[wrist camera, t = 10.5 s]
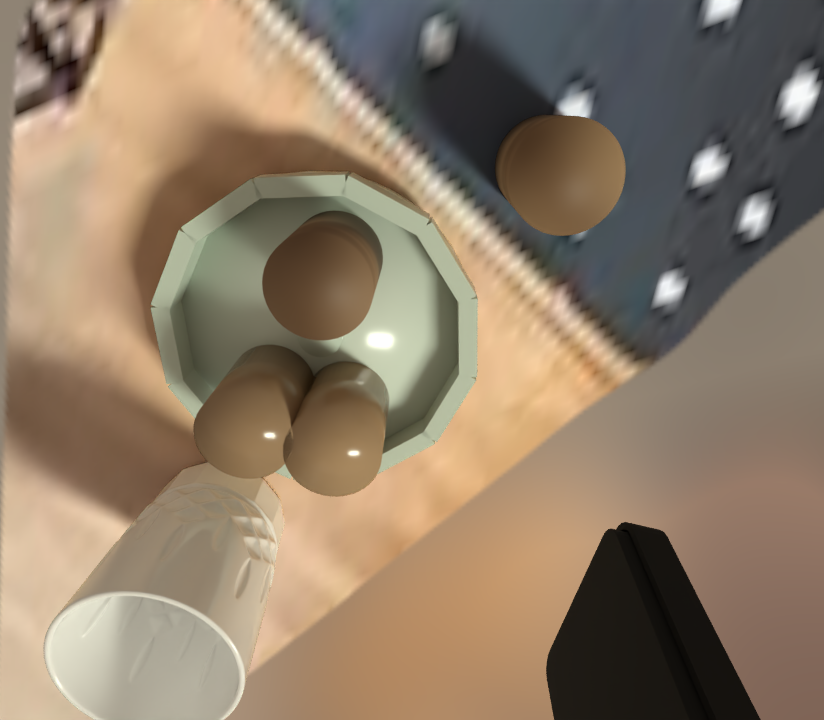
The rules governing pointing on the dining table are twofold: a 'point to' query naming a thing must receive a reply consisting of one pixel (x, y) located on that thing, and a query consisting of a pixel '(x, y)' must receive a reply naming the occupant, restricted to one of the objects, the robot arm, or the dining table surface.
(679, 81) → the dining table surface
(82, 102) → the dining table surface
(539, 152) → the bead
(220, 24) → the dining table surface
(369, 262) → the bead
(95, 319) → the dining table surface
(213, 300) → the tray
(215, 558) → the white cup
